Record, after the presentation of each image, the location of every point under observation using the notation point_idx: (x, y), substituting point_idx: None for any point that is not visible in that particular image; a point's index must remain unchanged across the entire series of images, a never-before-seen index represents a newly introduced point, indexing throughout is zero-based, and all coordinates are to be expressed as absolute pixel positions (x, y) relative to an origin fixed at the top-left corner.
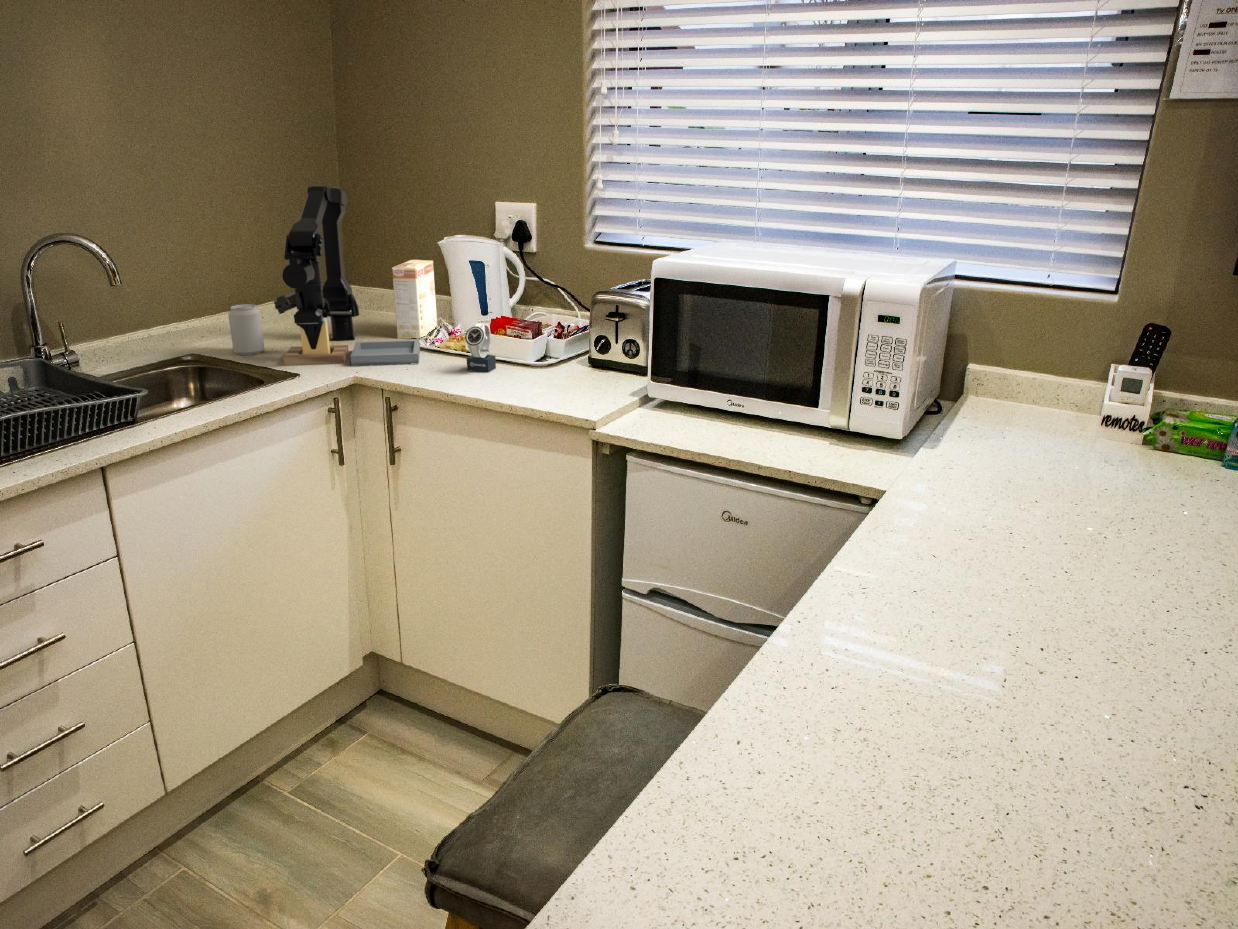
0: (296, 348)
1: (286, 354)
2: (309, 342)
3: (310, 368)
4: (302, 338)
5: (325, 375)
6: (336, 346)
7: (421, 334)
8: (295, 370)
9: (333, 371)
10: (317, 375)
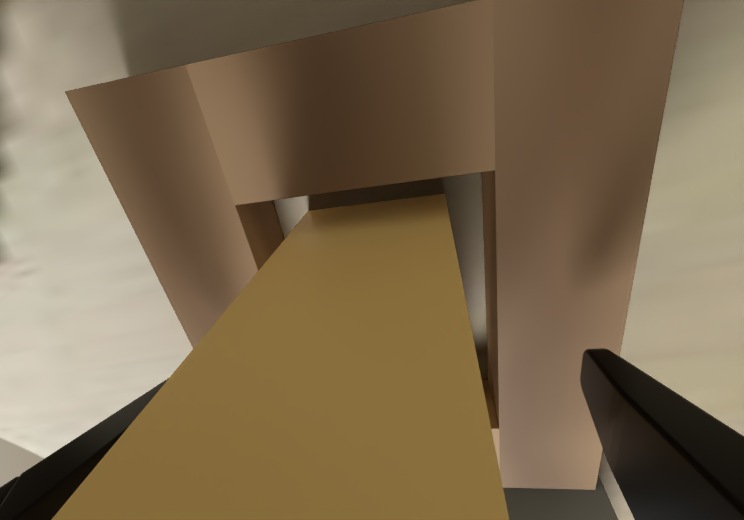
0: (532, 95)
1: (205, 72)
2: (114, 420)
3: (130, 300)
4: (211, 348)
5: (37, 389)
6: (552, 435)
7: None
8: (48, 222)
9: (117, 409)
10: (18, 358)
